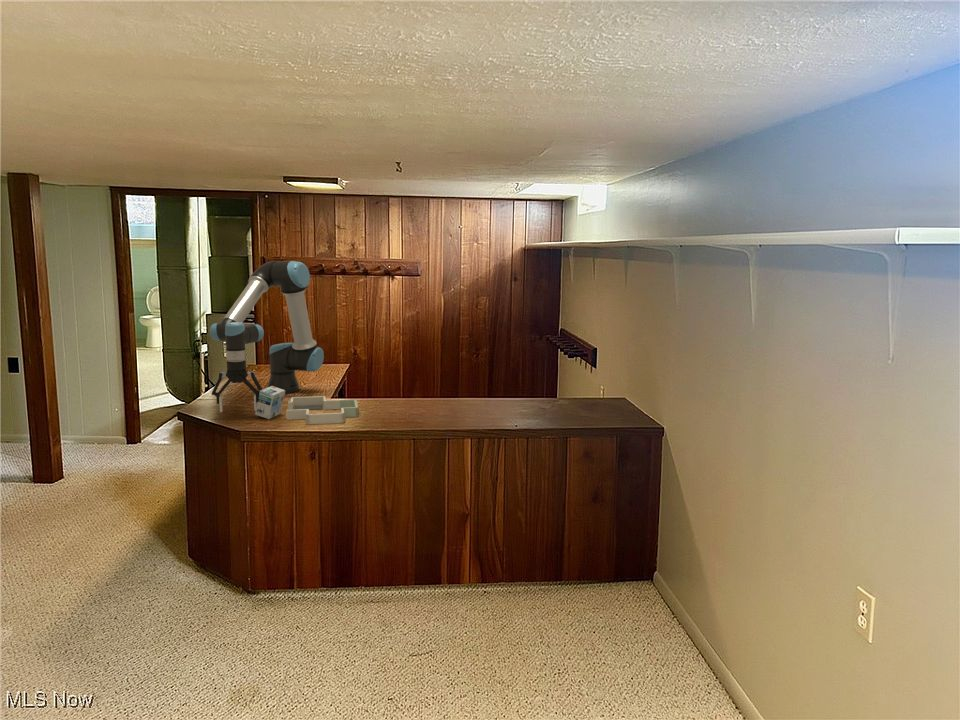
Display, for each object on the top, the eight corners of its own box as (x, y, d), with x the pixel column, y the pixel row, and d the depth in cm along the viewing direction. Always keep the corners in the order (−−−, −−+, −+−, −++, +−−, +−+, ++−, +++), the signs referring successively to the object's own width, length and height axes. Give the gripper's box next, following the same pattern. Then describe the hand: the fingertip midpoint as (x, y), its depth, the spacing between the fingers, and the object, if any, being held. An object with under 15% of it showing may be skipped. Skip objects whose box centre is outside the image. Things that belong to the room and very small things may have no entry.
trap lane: (289, 406, 321) (288, 397, 320) (355, 403, 327) (355, 394, 326) (285, 425, 288) (285, 415, 287) (359, 422, 294) (359, 412, 293)
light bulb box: (269, 419, 297) (274, 395, 294) (254, 414, 298) (259, 390, 295) (281, 413, 307) (286, 390, 305) (266, 408, 308) (271, 385, 306)
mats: (294, 406, 320) (294, 405, 320) (338, 404, 324) (338, 404, 324) (292, 424, 289) (292, 423, 289) (340, 422, 294) (340, 421, 294)
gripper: (202, 362, 290) (205, 414, 293) (267, 361, 295) (269, 411, 298) (205, 359, 297) (208, 409, 301) (268, 358, 302) (270, 407, 306)
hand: (238, 411), depth 300 cm, fingers open, 13 cm apart
